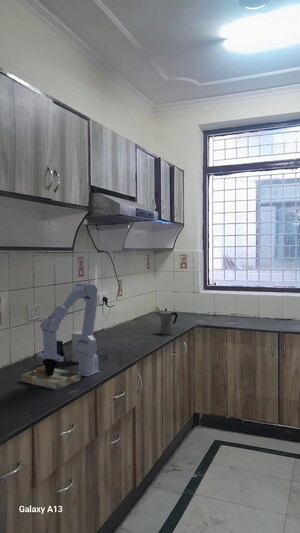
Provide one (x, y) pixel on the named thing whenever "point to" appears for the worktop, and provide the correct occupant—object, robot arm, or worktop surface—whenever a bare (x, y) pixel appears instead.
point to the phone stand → (60, 352)
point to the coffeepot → (166, 321)
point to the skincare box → (74, 340)
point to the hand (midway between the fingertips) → (50, 375)
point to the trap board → (52, 379)
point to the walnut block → (41, 372)
